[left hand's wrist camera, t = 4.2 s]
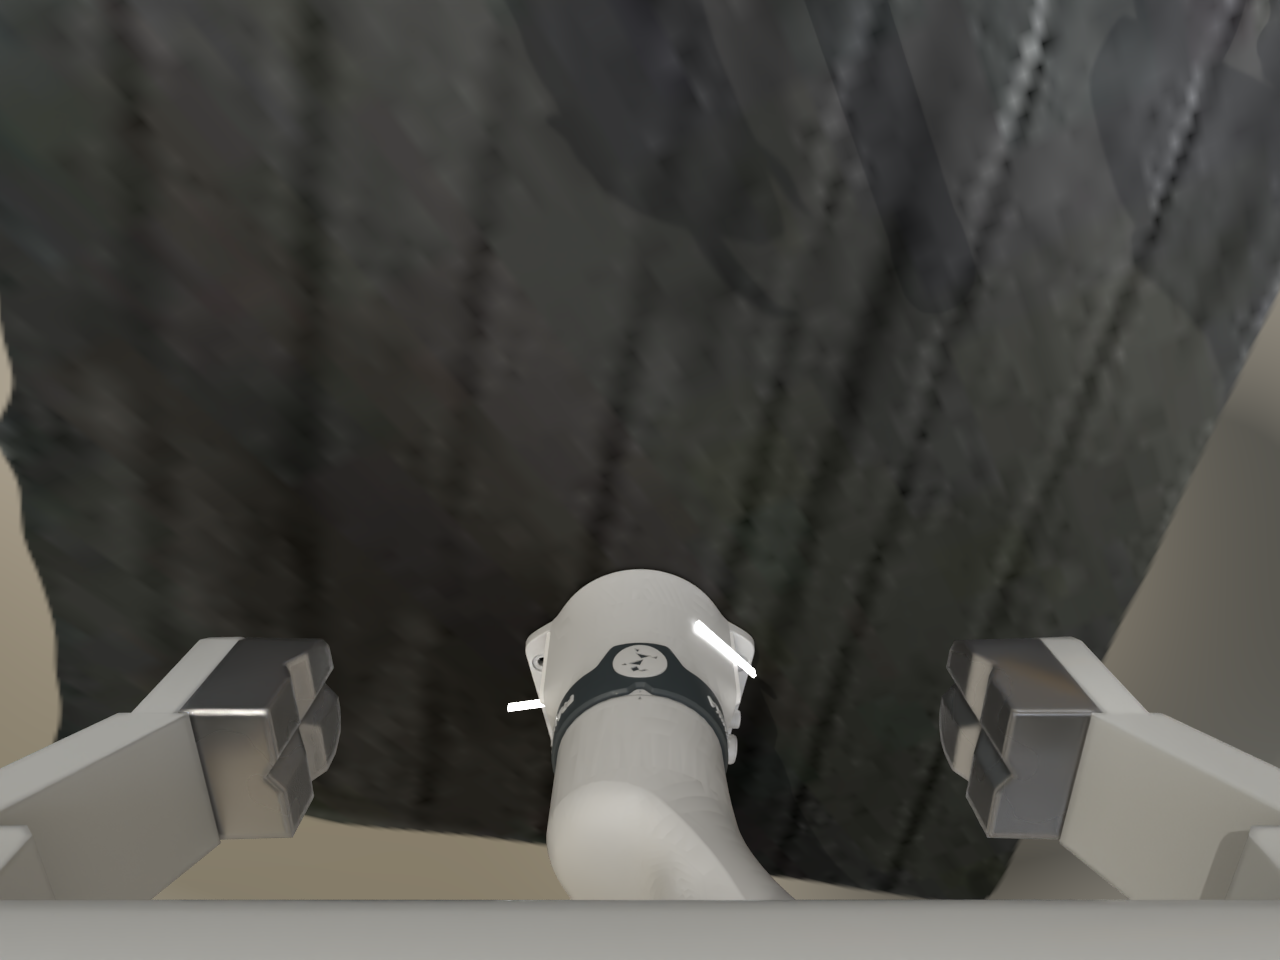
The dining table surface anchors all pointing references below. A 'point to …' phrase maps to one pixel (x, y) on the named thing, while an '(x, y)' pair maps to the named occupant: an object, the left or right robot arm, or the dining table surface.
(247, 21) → the dining table surface
